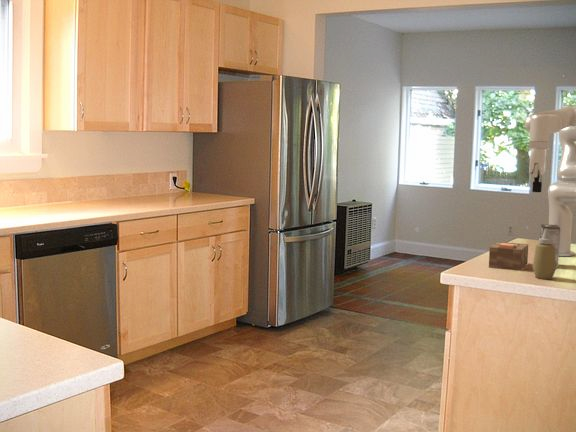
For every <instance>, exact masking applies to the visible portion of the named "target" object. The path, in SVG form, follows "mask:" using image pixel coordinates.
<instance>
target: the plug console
mask: <svg viewBox="0 0 576 432" xmlns="http://www.w3.org/2000/svg"><path fill="white" fill-rule="evenodd" d="M502 243H506V242H503V241H497V242H496V243H494V244H492V245H491V246H489V256H488V268H491V269H500V268H501V270H502V269H503V270H512V271H522V270H523V269H524V267H526V266H527V265H528V263H529V262H528V259H529V244H527V243H516V242H508V243H509V244H519V245H518V246H515V248H514V249H510V248H500V244H502Z"/></svg>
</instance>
